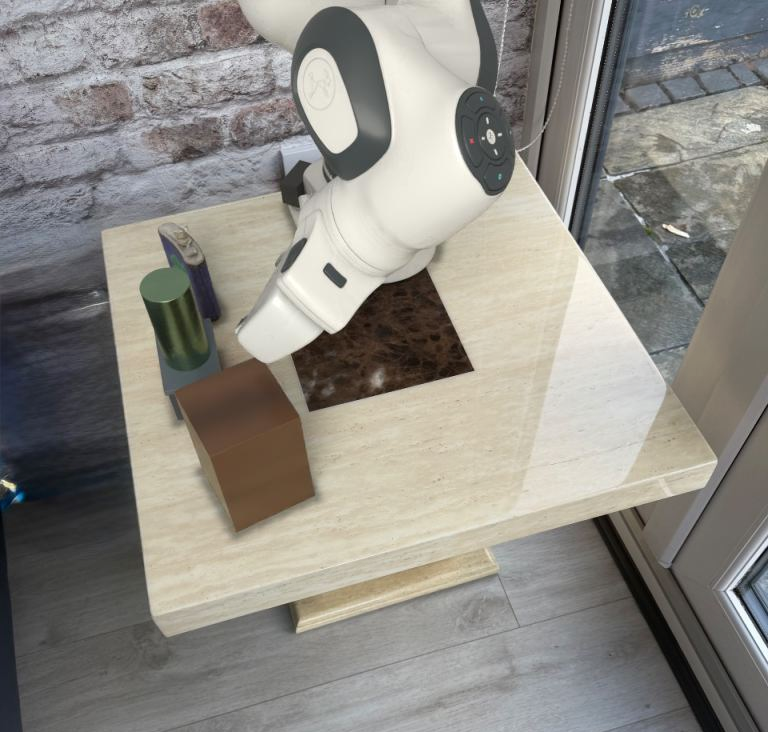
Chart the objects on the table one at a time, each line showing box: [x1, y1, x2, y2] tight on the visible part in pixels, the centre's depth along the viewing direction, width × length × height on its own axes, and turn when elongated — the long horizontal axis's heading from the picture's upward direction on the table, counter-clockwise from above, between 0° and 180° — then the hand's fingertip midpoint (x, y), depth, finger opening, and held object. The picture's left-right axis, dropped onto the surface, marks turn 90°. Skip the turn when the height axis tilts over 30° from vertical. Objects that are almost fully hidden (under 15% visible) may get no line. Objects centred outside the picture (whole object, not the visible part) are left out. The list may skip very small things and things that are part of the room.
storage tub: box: [153, 318, 222, 421], centre depth 94 cm, size 10×6×5 cm
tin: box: [139, 267, 210, 371], centre depth 88 cm, size 5×5×10 cm
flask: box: [157, 221, 222, 324], centre depth 100 cm, size 9×3×11 cm, turn 36°
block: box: [174, 356, 315, 533], centre depth 83 cm, size 9×9×13 cm
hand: (263, 298), depth 81 cm, fingers open, 8 cm apart
